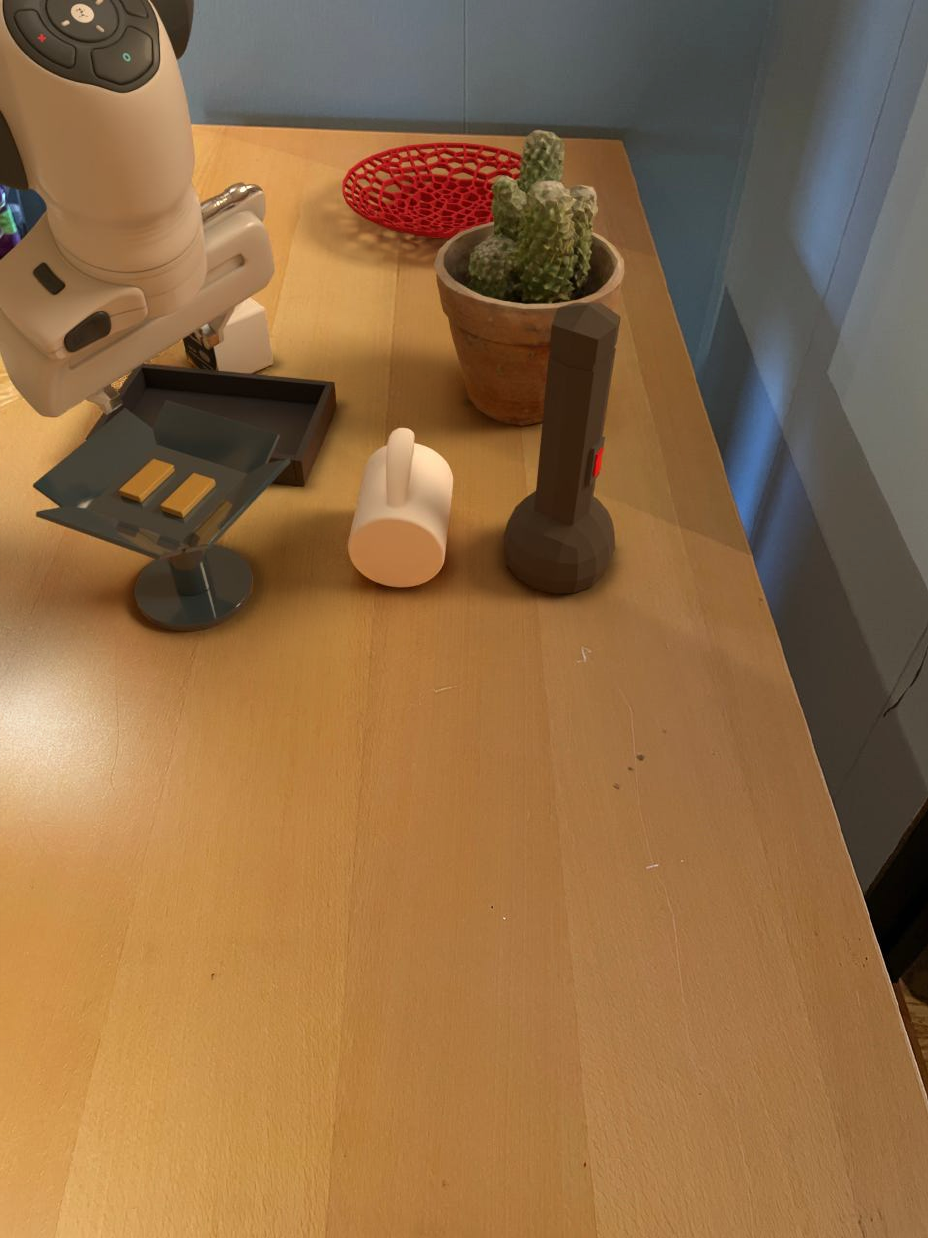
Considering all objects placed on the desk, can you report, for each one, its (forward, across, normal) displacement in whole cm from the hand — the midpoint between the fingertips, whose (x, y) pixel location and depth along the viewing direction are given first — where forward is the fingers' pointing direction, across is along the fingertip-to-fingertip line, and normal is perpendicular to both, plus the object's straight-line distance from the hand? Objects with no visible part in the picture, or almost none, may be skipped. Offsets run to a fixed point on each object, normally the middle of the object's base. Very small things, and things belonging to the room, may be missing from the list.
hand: (160, 371), depth 72 cm
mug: (+14, -10, +20) cm, 26 cm away
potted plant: (+22, -35, +12) cm, 43 cm away
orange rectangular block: (+5, +5, +4) cm, 9 cm away
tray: (+24, -8, -5) cm, 25 cm away
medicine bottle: (+29, -16, -13) cm, 36 cm away
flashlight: (+12, -19, +30) cm, 37 cm away
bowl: (+40, -58, -19) cm, 73 cm away
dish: (+15, +7, +10) cm, 19 cm away
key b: (+4, +4, +8) cm, 10 cm away
